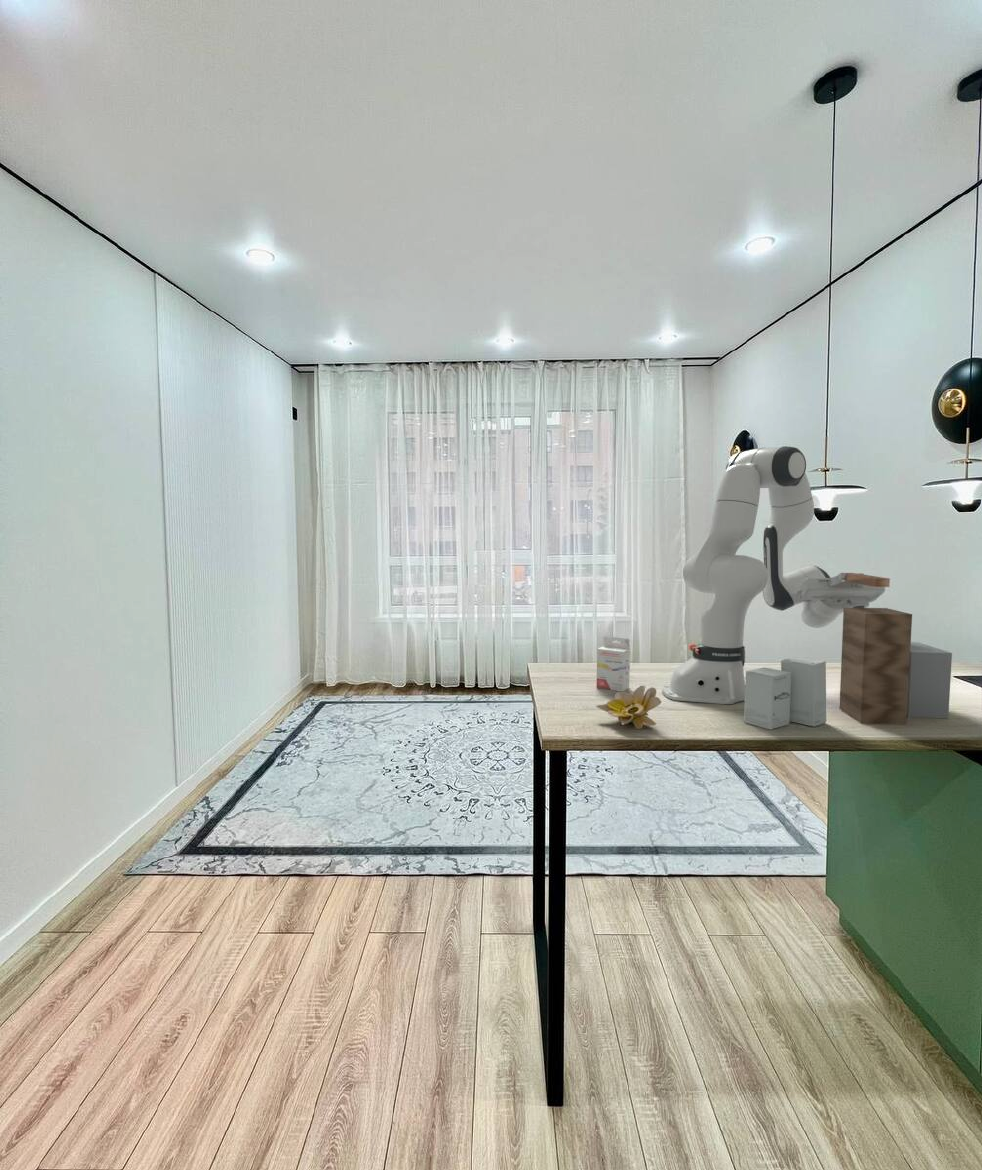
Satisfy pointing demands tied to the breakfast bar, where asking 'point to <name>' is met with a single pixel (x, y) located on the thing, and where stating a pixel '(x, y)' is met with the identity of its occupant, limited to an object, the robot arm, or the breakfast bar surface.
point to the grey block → (928, 682)
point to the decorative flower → (633, 706)
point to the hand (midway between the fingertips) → (852, 575)
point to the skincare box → (807, 690)
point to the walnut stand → (875, 665)
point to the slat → (867, 580)
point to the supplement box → (767, 698)
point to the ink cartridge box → (613, 664)
